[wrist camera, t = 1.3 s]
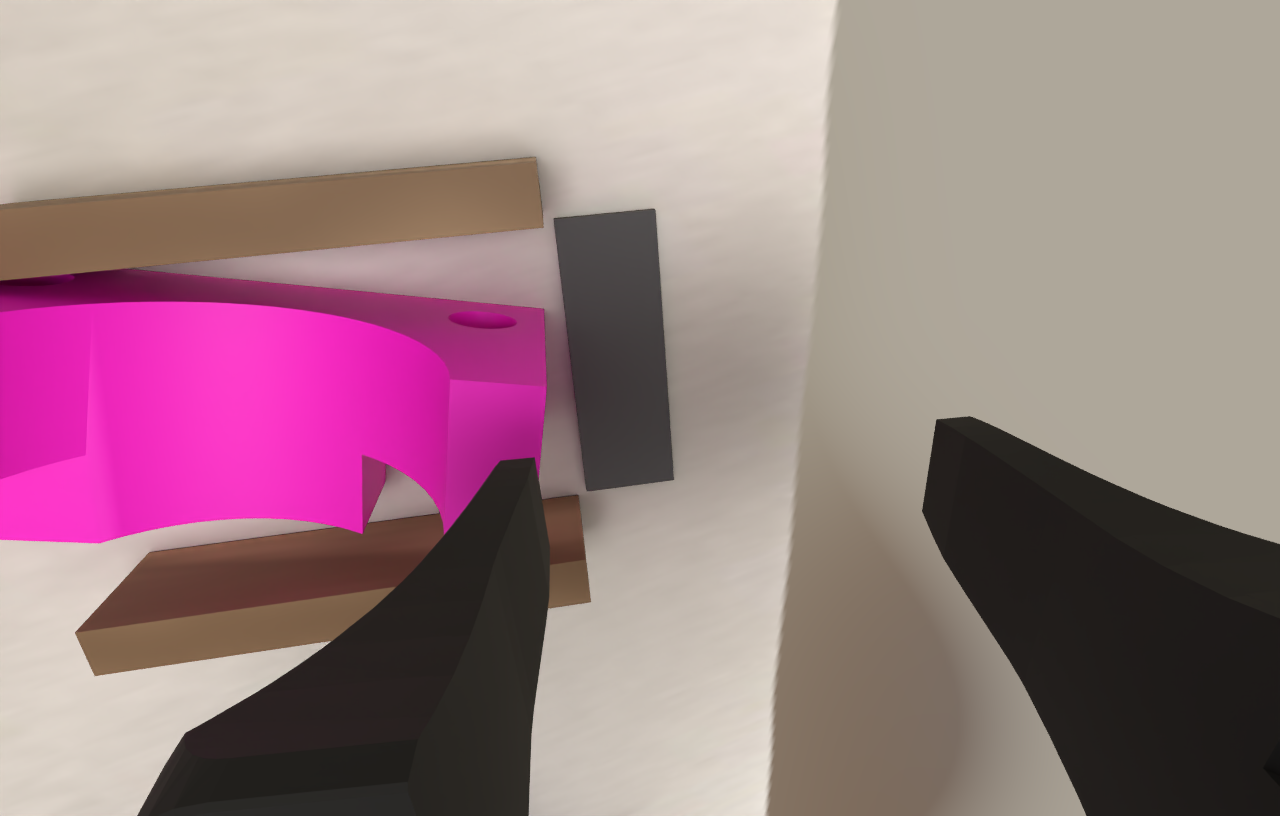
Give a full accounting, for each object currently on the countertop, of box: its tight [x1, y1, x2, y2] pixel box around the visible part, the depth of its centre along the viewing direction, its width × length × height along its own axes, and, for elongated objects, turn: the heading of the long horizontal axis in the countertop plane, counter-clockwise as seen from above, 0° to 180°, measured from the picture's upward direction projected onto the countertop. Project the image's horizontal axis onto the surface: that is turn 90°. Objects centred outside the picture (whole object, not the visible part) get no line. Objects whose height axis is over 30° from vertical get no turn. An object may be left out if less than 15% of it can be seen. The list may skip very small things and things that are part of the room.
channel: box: [0, 157, 591, 676], centre depth 20 cm, size 12×14×4 cm
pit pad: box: [554, 209, 674, 491], centre depth 23 cm, size 9×3×1 cm, turn 4°
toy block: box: [0, 269, 547, 543], centre depth 19 cm, size 15×6×8 cm, turn 83°
